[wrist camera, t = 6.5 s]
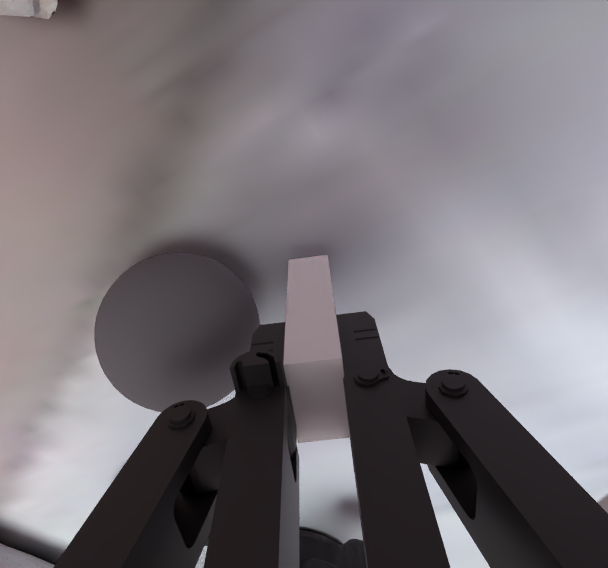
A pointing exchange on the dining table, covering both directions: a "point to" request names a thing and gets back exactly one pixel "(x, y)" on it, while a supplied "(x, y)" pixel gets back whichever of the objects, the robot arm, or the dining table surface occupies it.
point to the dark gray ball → (174, 330)
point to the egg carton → (28, 8)
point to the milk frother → (328, 552)
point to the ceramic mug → (20, 559)
